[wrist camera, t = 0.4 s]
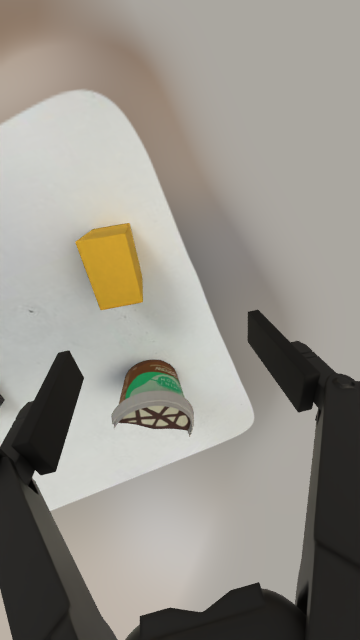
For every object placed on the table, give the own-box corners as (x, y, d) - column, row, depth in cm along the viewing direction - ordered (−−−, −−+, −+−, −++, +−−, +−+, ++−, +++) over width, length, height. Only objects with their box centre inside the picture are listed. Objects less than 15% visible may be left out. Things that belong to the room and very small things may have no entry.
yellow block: (92, 229, 26) (74, 241, 19) (129, 223, 27) (125, 232, 20) (109, 283, 30) (100, 310, 23) (142, 277, 30) (143, 302, 23)
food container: (195, 362, 39) (210, 409, 31) (182, 387, 42) (192, 436, 33) (126, 347, 35) (122, 396, 27) (116, 375, 38) (109, 428, 29)
